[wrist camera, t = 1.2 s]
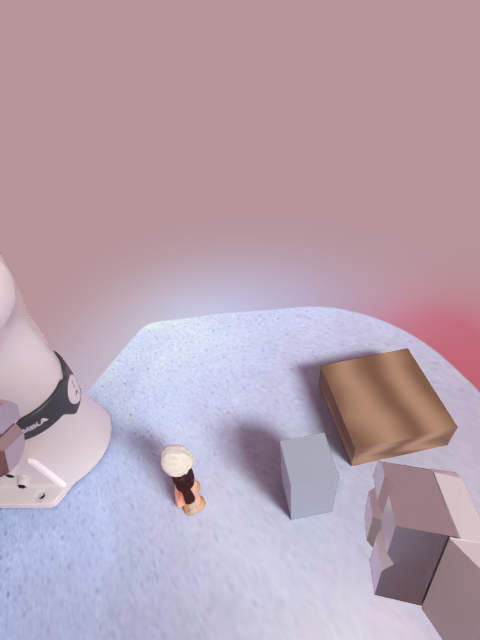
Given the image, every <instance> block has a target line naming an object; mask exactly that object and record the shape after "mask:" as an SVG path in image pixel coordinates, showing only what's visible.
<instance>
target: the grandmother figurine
mask: <svg viewBox="0 0 480 640" xmlns="http://www.w3.org/2000/svg"><path fill="white" fill-rule="evenodd" d="M192 465H193V457H192V454H191V452H190V451H189V450H187V449H186V448H185V447H184V446H182V445H168V446H166V447H165V448H163V450H162V452H161V467H162V469H163V471H164V472H166V473H167V474H168V475H169V476H172V478H173V482H174V491H175V501H176V504H177V507H178V508H182V506H183V509H184V512H185V513H186V514H187V515H189V516H190V515H194V514H195V513H197V512H198V511H200V510H202V509H203V508H204V507H205V500H204V498H203V497H201V496H200V495H199V493H198V491H199V490H200V484H199V482H198V481H196V480H195V478H194V474H193V470H192V468H191V467H192Z"/></svg>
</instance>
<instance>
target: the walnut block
mask: <svg viewBox="0 0 480 640" xmlns="http://www.w3.org/2000/svg"><path fill="white" fill-rule="evenodd" d="M319 386H320V388H321V391H322V393H323V396H324V398H325V401H326V403H327V406H328V409H329V411H330V414H331V416H332V419H333V421H334V424H335V426H336V429H337V431H338V434H339V436H340V439H341V442H342V444H343V447H344V449H345V452H346V454H347V457H348V459H349V462H350V464H351V466H354V465H359V464H363V463H368V462H372V461H377V460H381V459H386V458H390V457H395V456H399V455H404V454H409V453H413V452H418V451H422V450H427V449H431V448H436V447H440V446H445V445H447V444H448V443H449V441H450V439H451V437H452V436H453V434H454V432H455V431H456V429H457V425H456V424H455V422H454V421H453V419H452V417H451V416H450V414H449V413H448V411H447V410H446V408H445V406H444V405H443V403H442V402H441V400H440V399H439V397H438V395H437V394H436V392H435V391H434V389H433V388H432V386H431V384H430V383H429V381H428V380H427V378H426V376H425V375H424V373H423V372H422V370H421V369H420V367H419V365H418V364H417V362H416V361H415V359H414V358H413V356H412V354H411V353H410V351H409V350H408V348H407V349H402V350H397V351H392V352H387V353H382V354H377V355H372V356H367V357H362V358H357V359H352V360H347V361H342V362H337V363H332V364H328V365H323V366H321V370H320V381H319Z"/></svg>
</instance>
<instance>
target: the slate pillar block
mask: <svg viewBox="0 0 480 640" xmlns="http://www.w3.org/2000/svg"><path fill="white" fill-rule="evenodd" d="M280 456H281V479H282V483H283V488H284V492H285V496H286V500H287V505H288V509H289V513H290V517H291V520H293V519H298V518H303V517H308V516H313V515H318V514H323V513H328V512H332V509H333V504H334V500H335V495H336V490H337V485H338V480H339V474H338V471H337V468H336V466H335V463H334V460H333V457H332V454H331V451H330V448H329V445H328V442H327V439H326V436H325V434H324V433H320V434H314V435H309V436H304V437H299V438H294V439H289V440H284V441H280Z"/></svg>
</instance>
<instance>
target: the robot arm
mask: <svg viewBox="0 0 480 640" xmlns="http://www.w3.org/2000/svg"><path fill="white" fill-rule="evenodd" d="M111 432H112V424H111V419H110V416H109V413H108V412H107V410H106V409H105V408H104V407H103V406H102V405H101V404H100V403H98V402H96V401H95V400H93V399H92V398H91V397H89V396H88V395H87V394H86V393H85V392H84V391H83V390H82V389H81V388H80V386H79V384H78V382H77V380H76V378H75V376H74V375H73V373H72V371H71V370H70V368H69V367H68V365H67V364H66V363H65V361H64V360H63V358H62V357H61V356H60V355H59V354H58V353H57V352H55V351H54V350H53V349H52V348H51V346H50V345H49V343H48V342H47V340H46V339H45V337H44V336H43V334H42V333H41V331H40V330H39V328H38V326H37V325H36V324H35V322H34V320H33V319H32V317H31V315H30V314H29V312H28V310H27V307H26V305H25V303H24V300H23V298H22V295H21V293H20V291H19V289H18V287H17V285H16V283H15V281H14V279H13V277H12V275H11V273H10V271H9V269H8V267H7V265H6V263H5V261H4V260H3V258H2V256H1V254H0V508H52V507H55V506H56V505H57V504H59V503H60V501H61V500H62V499H63V498H64V497H65V495H66V494H67V492H68V491H69V490H70V488H71V487H72V486H73V485H74V484H75V483H76V482H77V481H78V480H80V479H81V478H82V477H83V476H85V475H86V474H87V473H88V472H89V471H90V470H91V469H92V468H93V467H94V466H95V465H96V464H97V463H98V462H99V460H100V459H101V458H102V456H103V454H104V453H105V451H106V449H107V447H108V444H109V441H110V438H111ZM373 479H374V484H375V488H374V489H372V490H371V491H369V493H368V498H367V502H366V511H365V530H366V538H367V541H368V542H369V544H370V545H371V546H372V547H373V550H372V554H371V557H370V567H371V574H372V581H373V588H374V595H378V596H382V597H386V598H391V599H395V600H399V601H403V602H408V603H412V604H416V605H421V606H422V610H423V611H424V613H425V614H426V616H427V617H428V619H429V620H430V622H431V623H432V625H433V626H434V627H435V629H436V630H437V632H438V633H439V635H440V636H441V638H442V639H443V640H480V519H479V517H478V514H477V512H476V510H475V508H474V506H473V504H472V501H471V499H470V497H469V495H468V493H467V490H466V488H465V486H464V484H463V482H462V479H461V477H460V476H459V475H458V474H457V473H456V472H449V471H442V470H435V469H425V468H418V467H412V466H406V465H399V464H393V463H386V462H380V461H378V463H377V465H376V467H375V470H374V474H373ZM43 495H45V497H44V498H43V499H41V497H42V496H43Z"/></svg>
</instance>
